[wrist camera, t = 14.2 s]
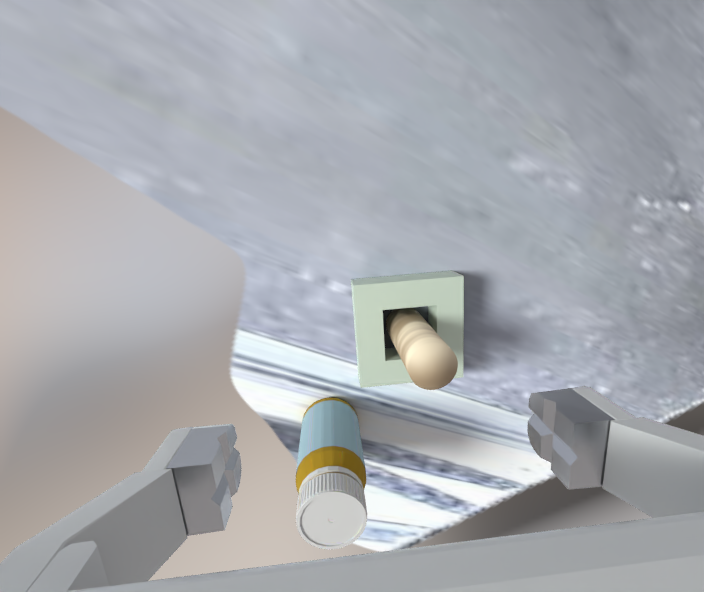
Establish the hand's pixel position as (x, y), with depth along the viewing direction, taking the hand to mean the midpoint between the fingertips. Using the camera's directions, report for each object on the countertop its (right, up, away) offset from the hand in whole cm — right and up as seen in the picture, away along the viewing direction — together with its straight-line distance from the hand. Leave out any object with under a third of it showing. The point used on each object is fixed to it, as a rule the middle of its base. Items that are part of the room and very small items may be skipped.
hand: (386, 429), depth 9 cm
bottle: (-4, -12, +35) cm, 37 cm away
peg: (+5, 0, +32) cm, 33 cm away
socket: (+5, 0, +32) cm, 33 cm away
